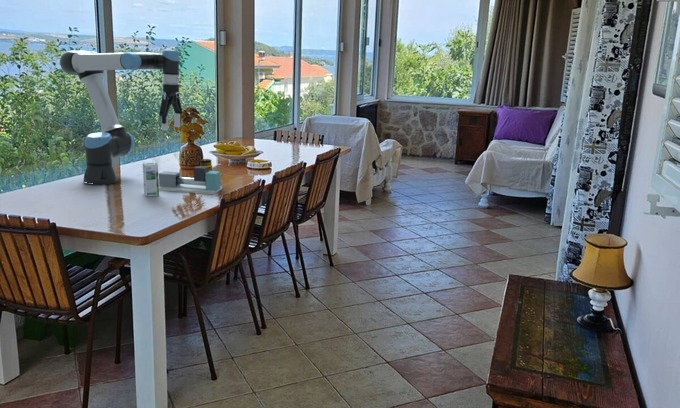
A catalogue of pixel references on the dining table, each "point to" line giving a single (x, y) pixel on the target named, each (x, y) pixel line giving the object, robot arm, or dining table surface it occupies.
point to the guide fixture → (169, 184)
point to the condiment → (206, 164)
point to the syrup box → (151, 179)
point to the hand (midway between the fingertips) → (171, 128)
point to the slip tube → (198, 177)
